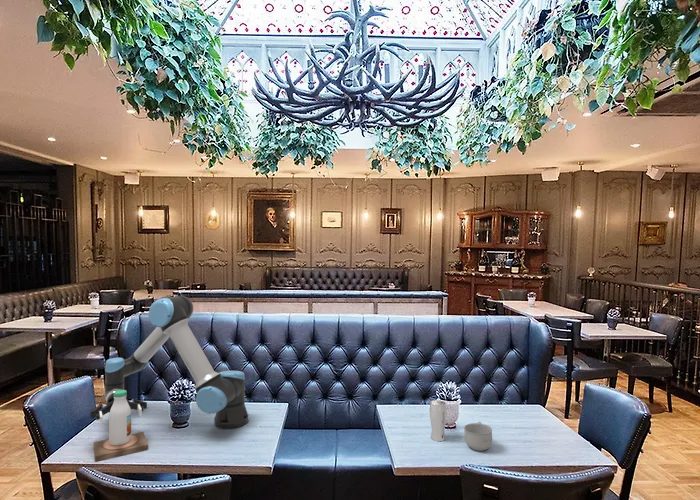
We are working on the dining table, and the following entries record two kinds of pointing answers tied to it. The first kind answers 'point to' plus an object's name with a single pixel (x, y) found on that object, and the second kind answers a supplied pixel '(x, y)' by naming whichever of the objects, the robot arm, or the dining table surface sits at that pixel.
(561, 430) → the dining table surface
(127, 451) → the serving board
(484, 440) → the teacup
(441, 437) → the beer glass
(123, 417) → the milk bottle
